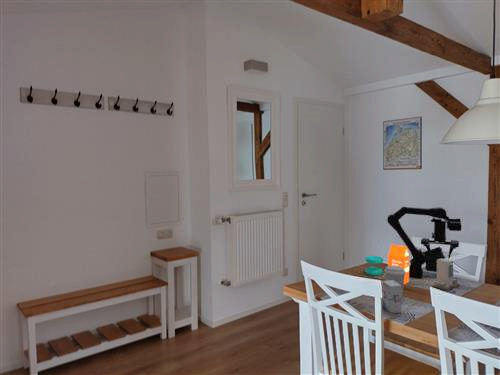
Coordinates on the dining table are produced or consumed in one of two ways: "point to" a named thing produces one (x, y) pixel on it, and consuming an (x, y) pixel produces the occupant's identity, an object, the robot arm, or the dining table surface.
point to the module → (445, 271)
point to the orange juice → (399, 259)
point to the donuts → (374, 270)
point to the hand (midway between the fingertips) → (439, 257)
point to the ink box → (392, 296)
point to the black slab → (433, 258)
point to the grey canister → (395, 275)
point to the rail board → (443, 285)
